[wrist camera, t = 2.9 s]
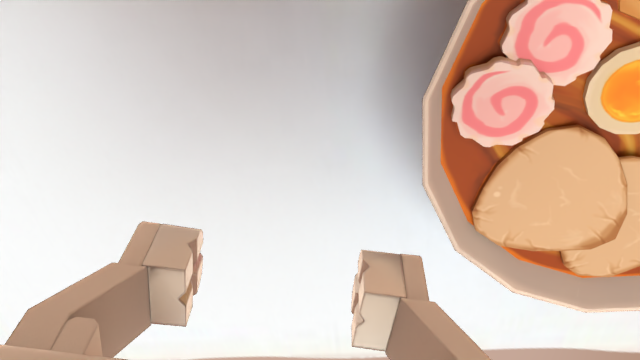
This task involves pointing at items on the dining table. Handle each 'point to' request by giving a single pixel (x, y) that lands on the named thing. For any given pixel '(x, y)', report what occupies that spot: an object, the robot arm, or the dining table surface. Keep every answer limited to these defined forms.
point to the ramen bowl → (541, 148)
